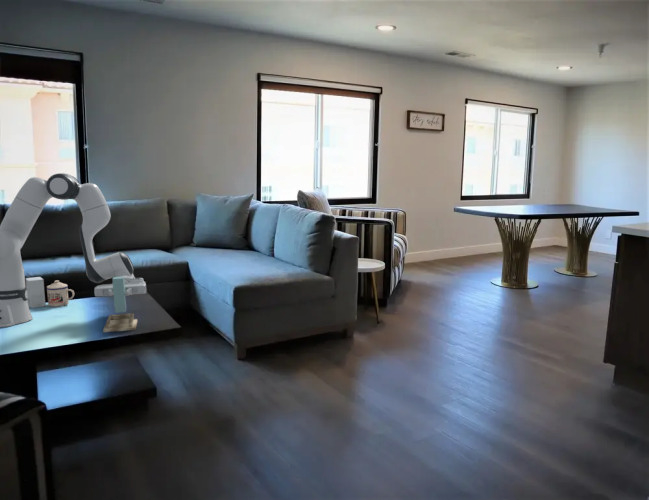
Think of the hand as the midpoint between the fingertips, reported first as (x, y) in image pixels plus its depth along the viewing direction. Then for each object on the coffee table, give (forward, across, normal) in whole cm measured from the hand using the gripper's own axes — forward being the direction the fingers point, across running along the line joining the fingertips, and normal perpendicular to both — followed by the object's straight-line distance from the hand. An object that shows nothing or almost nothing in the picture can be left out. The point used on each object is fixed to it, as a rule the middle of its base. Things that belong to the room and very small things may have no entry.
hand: (119, 293), depth 206 cm
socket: (-1, 0, +14) cm, 14 cm away
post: (-1, 0, +8) cm, 8 cm away
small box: (-47, -42, +14) cm, 65 cm away
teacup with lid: (-46, -31, +14) cm, 57 cm away
